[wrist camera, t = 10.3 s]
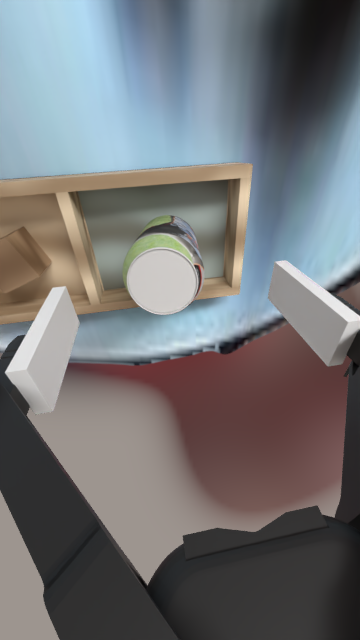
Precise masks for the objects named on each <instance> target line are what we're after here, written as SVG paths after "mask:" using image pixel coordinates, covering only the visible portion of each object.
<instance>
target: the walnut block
mask: <svg viewBox="0 0 360 640" xmlns="http://www.w3.org/2000/svg"><path fill="white" fill-rule="evenodd" d="M51 262H52V261H51V259H50V258H49V257H48V256H47V254H46V253H45V252H44V251H43V250H42V248H41V247H40V246H39V245H38V243H37V242H36V241H35V240H34V238H33V237H32V236H31V235H30V233H29V232H28V231H27V230H26V228H25V227H24V226H23V227H21V228H19V229H17V230H15V231H14V232H12V233H10V234H8V235H6V236H4V237H2V238H0V290H1V291H2V292H3V293H4V294H6V293H8V292H10V291H12V290H14V289H16V288H18V287H20V286H22V285H24V284H26V283H28V282H30V281H32V280H34V279H36V278H38V277H40V276H41V275H42V273H43V272H44V271H45V269H46V268H47V267H48V265H49V264H50V263H51Z"/></svg>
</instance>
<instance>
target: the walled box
mask: <svg viewBox="0 0 360 640" xmlns="http://www.w3.org/2000/svg"><path fill="white" fill-rule="evenodd" d="M252 166H253V164H247V163H223V164H209V165H196V166H182V167H168V168H155V169H141V170H127V171H114V172H100V173H86V174H72V175H59V176H45V177H31V178H18V179H4V180H0V238H2V237H4V236H6V235H8V234H10V233H12V232H14V231H15V230H17V229H19V228H21V227H23V226H24V227H25V228H26V230H27V231H28V232H29V233H30V235H31V236H32V237H33V238H34V240H35V241H36V242H37V243H38V245H39V246H40V247H41V248H42V250H43V251H44V252H45V253H46V254H47V256H48V257H49V258H50V259H51V261H52V262H51V263H50V264H49V265H48V267H47V268H46V269H45V271H44V272H43V273H42V275H41V276H40V277H38V278H36V279H34V280H32V281H30V282H28V283H26V284H24V285H22V286H20V287H18V288H16V289H14V290H12V291H10V292H8V293H6V294H4V293H3V292H2V291H1V290H0V325H1V324H9V323H16V322H24V321H32V320H35V318H36V316H37V314H38V313H39V311H40V309H41V307H42V306H43V304H44V302H45V300H46V298H47V297H48V295H49V293H50V291H51V290H52V288H55V287H63V286H66V288H67V291H68V293H69V296H70V299H71V301H72V304H73V306H74V309H75V312H76V314H77V315H80V314H88V313H96V312H104V311H112V310H119V309H127V308H135V307H140V306H139V305H138V304H137V303H136V302H135V301H134V300H133V298H132V297H131V296H130V294H129V293H128V291H127V289H126V287H125V284H124V281H123V273H122V271H123V263H124V260H125V257H126V255H127V253H128V251H129V250H130V248H131V247H132V245H133V244H134V242H135V241H136V239H137V238H138V237H139V235H140V234H141V232H142V231H143V229H144V228H145V226H146V225H147V224H148V223H149V222H150V221H151V220H153V219H155V218H156V217H159V216H164V215H172V216H176V217H179V218H181V219H183V220H184V221H186V222H187V223H188V224H189V225H190V227H191V228H192V229H193V231H194V234H195V236H196V240H197V244H198V247H199V251H200V254H201V258H202V262H203V265H204V273H205V276H204V283H203V286H202V289H201V291H200V293H199V295H198V296H197V298H196V299H195V300H199V299H207V298H215V297H222V296H230V295H238V294H239V293H240V284H241V274H242V264H243V254H244V245H245V235H246V225H247V215H248V205H249V196H250V186H251V176H252Z"/></svg>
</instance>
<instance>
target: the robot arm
mask: <svg viewBox="0 0 360 640" xmlns="http://www.w3.org/2000/svg"><path fill="white" fill-rule="evenodd" d="M268 299H269V300H270V301H271V302H272V304H273V305H274V306H275V307H276V308H277V309H278V310H279V312H280V313H281V314H282V315H283V316H284V317H285V318H286V320H287V321H288V322H289V323H290V324H291V325H292V326H293V327H294V329H295V330H296V331H297V332H298V333H299V334H300V335H301V337H302V338H303V339H304V340H305V341H306V342H307V343H308V344H309V346H310V347H311V348H312V349H313V350H314V351H315V352H316V354H317V355H318V356H319V357H320V358H321V359H322V360H323V361H324V363H326V365H327V366H333V365H339V364H342V363H343V361H344V359H345V357H346V355H347V356H349V358H350V359H352V362H351V363H350V365H349V367H348V369H347V371H346V373H345V375H344V376H345V377H346V376H347V375H348V374H349V379H348V395H347V410H346V426H345V441H344V457H343V471H342V486H341V487H342V488H341V498H340V502H339V505H338V508H337V511H336V514H335V518H333V517H329V516H326V515H322V514H321V512H320V510H319V508H318V506H313V507H308V508H304V509H299V510H295V511H290V512H286V513H284V514H283V515H281V516H280V517H278V518H277V519H276V520H274V521H272V522H271V523H269V524H268V525H266V526H265V527H263V528H262V529H261V530H259V531H257V532H247V531H239V530H229V529H221V528H215V529H210V530H206V531H202V532H197V533H193V534H188V535H184V536H183V541H184V543H183V544H182V545H180V546H179V547H178V548H176V549H175V550H174V551H173V552H172V553H170V554H169V555H168V556H167V557H166V558H165V559H164V561H163V562H162V563H161V564H160V566H159V567H158V569H157V570H156V571H155V573H154V575H153V577H152V578H151V580H150V582H149V584H148V585H147V584H146V583H145V581H144V580H143V579H142V577H141V576H140V574H139V573H138V571H137V570H136V569H135V567H134V566H133V565H132V563H131V562H130V560H129V559H128V558H127V556H126V555H125V554H124V552H123V551H122V550H121V548H120V547H119V545H118V544H117V543H116V541H115V540H114V539H113V537H112V536H111V534H110V533H109V531H108V530H107V528H106V527H105V526H104V525H103V523H102V521H101V520H100V519H99V517H98V516H97V514H96V513H95V512H94V510H93V509H92V507H91V506H90V504H89V503H88V502H87V500H86V499H85V497H84V496H83V495H82V493H81V492H80V491H79V489H78V488H77V486H76V485H75V483H74V482H73V480H72V479H71V478H70V476H69V475H68V473H67V472H66V471H65V470H64V468H63V466H62V465H61V464H60V462H59V461H58V459H57V458H56V456H55V455H54V454H53V452H52V451H51V449H50V448H49V447H48V445H47V444H46V442H45V441H44V440H43V438H42V437H41V436H40V434H39V433H38V431H37V430H36V428H35V427H34V425H33V424H32V423H31V421H30V420H29V419H28V417H27V416H26V415H27V413H28V410H29V408H31V409H32V411H33V412H34V414H35V415H37V414H42V413H49V412H53V411H54V408H55V404H56V401H57V398H58V394H59V391H60V388H61V384H62V381H63V378H64V374H65V371H66V368H67V364H68V361H69V357H70V354H71V351H72V347H73V344H74V341H75V337H76V334H77V331H78V327H79V324H80V322H79V320H78V317H77V314H76V312H75V309H74V306H73V304H72V301H71V299H70V296H69V293H68V291H67V288H66V286H63V287H55V288H52V290H51V291H50V293H49V295H48V297H47V298H46V300H45V302H44V304H43V306H42V307H41V309H40V311H39V313H38V314H37V316H36V318H35V320H34V322H33V323H32V325H31V327H30V329H29V331H28V332H27V334H26V335H21V336H17V337H16V338H15V339H14V340H13V341H12V342H10V343H9V345H8V347H7V348H6V350H5V353H3V355H2V356H1V359H0V490H1V493H2V495H3V497H4V499H5V501H6V503H7V505H8V508H9V510H10V512H11V514H12V516H13V518H14V520H15V523H16V525H17V527H18V529H19V531H20V533H21V535H22V538H23V540H24V542H25V544H26V546H27V548H28V550H29V553H30V555H31V557H32V559H33V561H34V563H35V565H36V567H37V570H38V572H39V574H40V576H41V578H42V581H43V583H44V594H43V597H44V602H45V606H46V609H47V611H48V614H49V616H50V619H51V621H52V623H53V625H54V628H55V630H56V632H57V635H58V637H59V639H60V640H360V311H359V310H358V309H356V308H354V306H352V305H351V304H349V303H348V302H347V301H345V300H344V299H343V298H341V297H339V296H337V295H334V294H332V293H328V292H327V291H326V290H324V289H323V288H322V287H321V286H319V285H318V284H317V283H315V282H314V281H313V280H311V279H310V278H309V277H307V276H306V275H305V274H303V273H302V272H301V271H299V270H298V269H297V268H295V267H294V266H293V265H291V264H290V263H289V262H287V261H277V262H275V263H274V268H273V274H272V279H271V284H270V289H269V294H268Z"/></svg>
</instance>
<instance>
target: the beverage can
mask: <svg viewBox="0 0 360 640" xmlns="http://www.w3.org/2000/svg"><path fill="white" fill-rule="evenodd" d="M122 273H123V281H124V284H125V287H126V289H127V291H128V293H129V294H130V296H131V297H132V298H133V300H134V301H135V302H136V303H137V304H138V305H139V306H140V307H141V308H143V309H144V310H146V311H148V312H151V313H154V314H159V315H168V314H173V313H177V312H179V311H181V310H183V309H184V308H186V307H187V306H188V305H190V304H191V303H192V302H193V301H194V300H195V299H196V298H197V296H198V295H199V293H200V291H201V289H202V286H203V283H204V276H205V273H204V265H203V262H202V258H201V254H200V251H199V247H198V244H197V240H196V236H195V234H194V231H193V229H192V228H191V227H190V225H189V224H188V223H187V222H186V221H184V220H183V219H181V218H179V217H176V216H172V215H164V216H159V217H156V218H155V219H153V220H151V221H150V222H149V223H148V224H147V225H146V226H145V228H144V229H143V231H142V232H141V234H140V235H139V237H138V238H137V239H136V241H135V242H134V244H133V245H132V247H131V248H130V250H129V251H128V253H127V255H126V257H125V260H124V263H123V271H122Z"/></svg>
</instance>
